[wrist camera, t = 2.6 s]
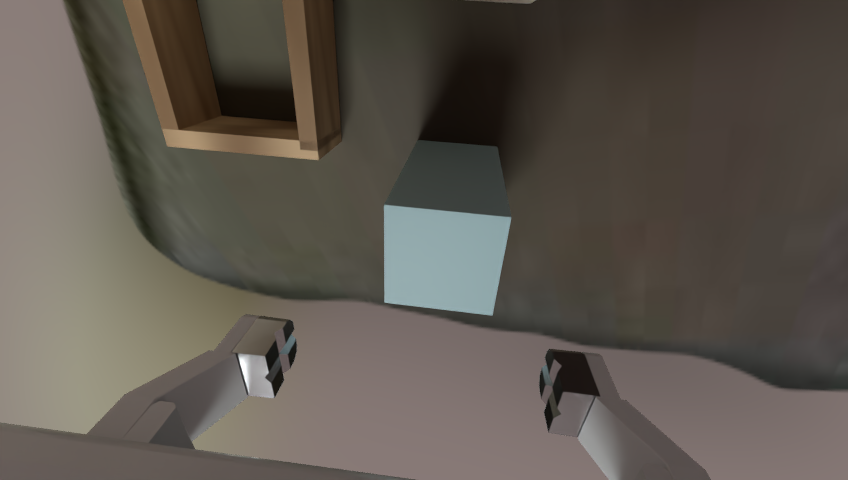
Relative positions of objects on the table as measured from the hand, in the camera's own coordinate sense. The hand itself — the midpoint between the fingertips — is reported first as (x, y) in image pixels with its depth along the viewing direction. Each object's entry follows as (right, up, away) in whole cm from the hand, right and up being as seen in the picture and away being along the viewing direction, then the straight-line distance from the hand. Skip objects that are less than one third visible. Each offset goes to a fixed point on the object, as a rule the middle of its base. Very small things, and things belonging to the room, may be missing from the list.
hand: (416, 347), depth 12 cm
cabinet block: (+2, +7, +12) cm, 15 cm away
